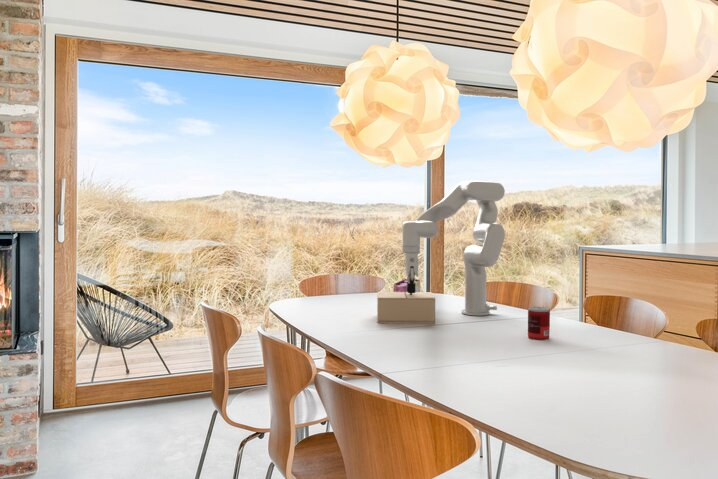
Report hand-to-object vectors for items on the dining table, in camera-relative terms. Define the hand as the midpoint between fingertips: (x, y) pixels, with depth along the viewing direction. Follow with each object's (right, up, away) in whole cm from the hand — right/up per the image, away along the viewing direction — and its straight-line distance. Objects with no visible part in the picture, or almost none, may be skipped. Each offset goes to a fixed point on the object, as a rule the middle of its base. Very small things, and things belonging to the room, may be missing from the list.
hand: (411, 291), depth 245 cm
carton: (-2, -12, +1) cm, 12 cm away
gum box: (0, -11, +26) cm, 28 cm away
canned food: (+44, -14, -37) cm, 59 cm away
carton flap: (+4, -2, 0) cm, 4 cm away
